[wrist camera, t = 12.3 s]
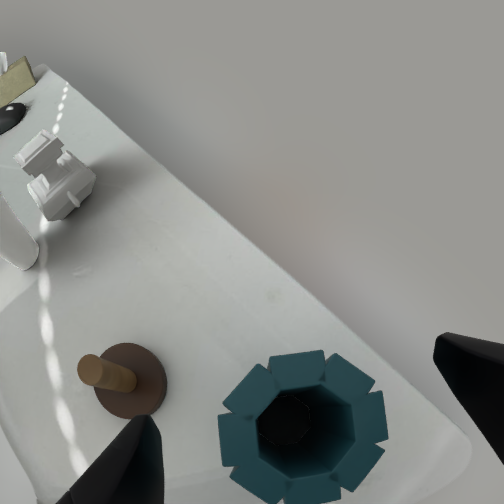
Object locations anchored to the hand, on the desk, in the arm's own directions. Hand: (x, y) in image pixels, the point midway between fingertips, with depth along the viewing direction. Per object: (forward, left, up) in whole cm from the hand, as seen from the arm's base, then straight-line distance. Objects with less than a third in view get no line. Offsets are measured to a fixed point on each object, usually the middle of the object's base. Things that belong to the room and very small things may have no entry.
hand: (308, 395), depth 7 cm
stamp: (+26, +12, -12) cm, 31 cm away
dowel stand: (+5, +9, -12) cm, 16 cm away
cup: (+21, +18, -12) cm, 30 cm away
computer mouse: (+60, +31, -12) cm, 68 cm away
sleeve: (-1, 0, -12) cm, 12 cm away
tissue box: (+80, +36, -12) cm, 88 cm away
